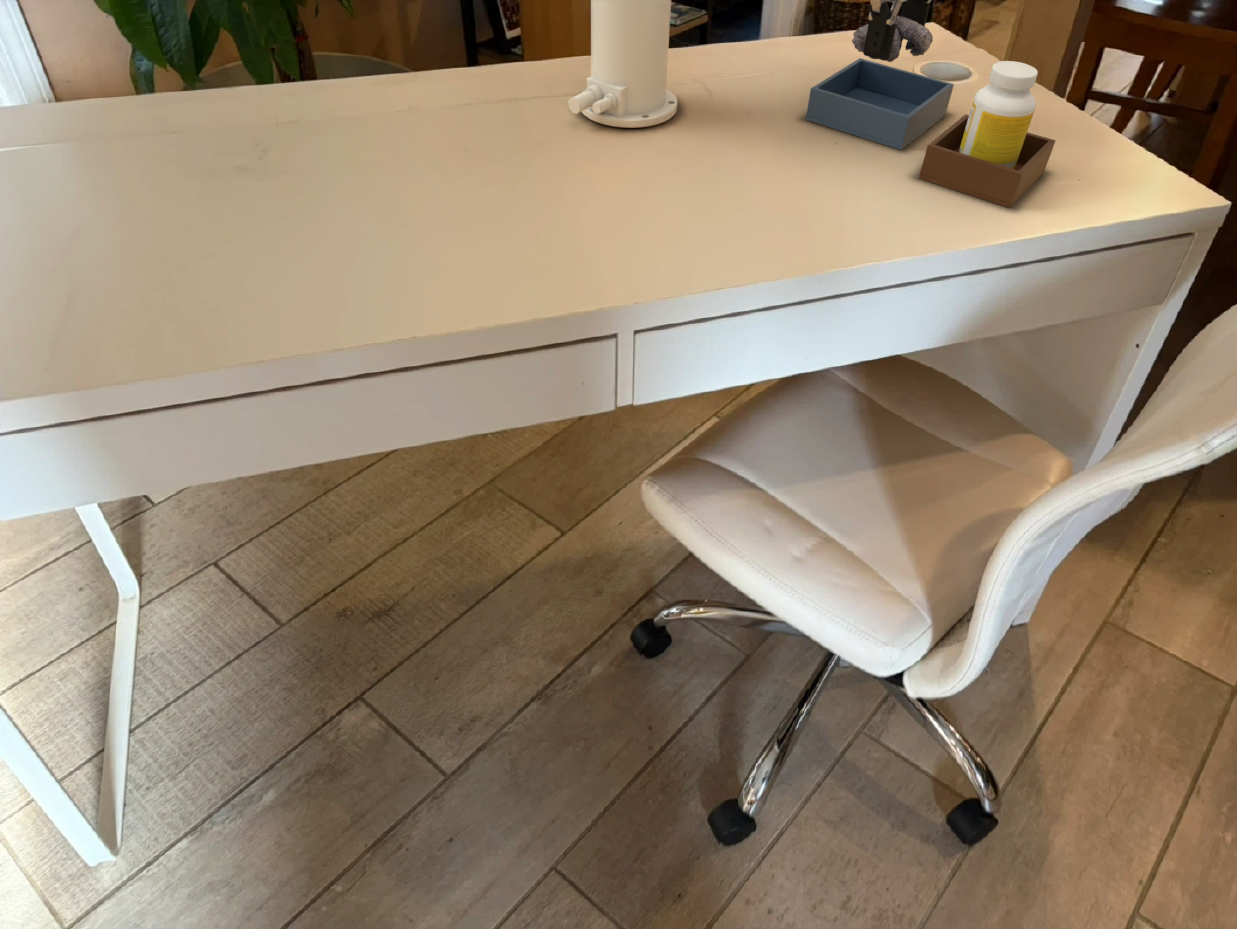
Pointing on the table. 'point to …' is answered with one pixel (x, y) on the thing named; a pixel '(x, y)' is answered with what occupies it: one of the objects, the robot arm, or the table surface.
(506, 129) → the table surface
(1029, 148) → the brown bin
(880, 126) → the blue bin
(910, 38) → the grey lumpy piece
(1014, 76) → the pill bottle
